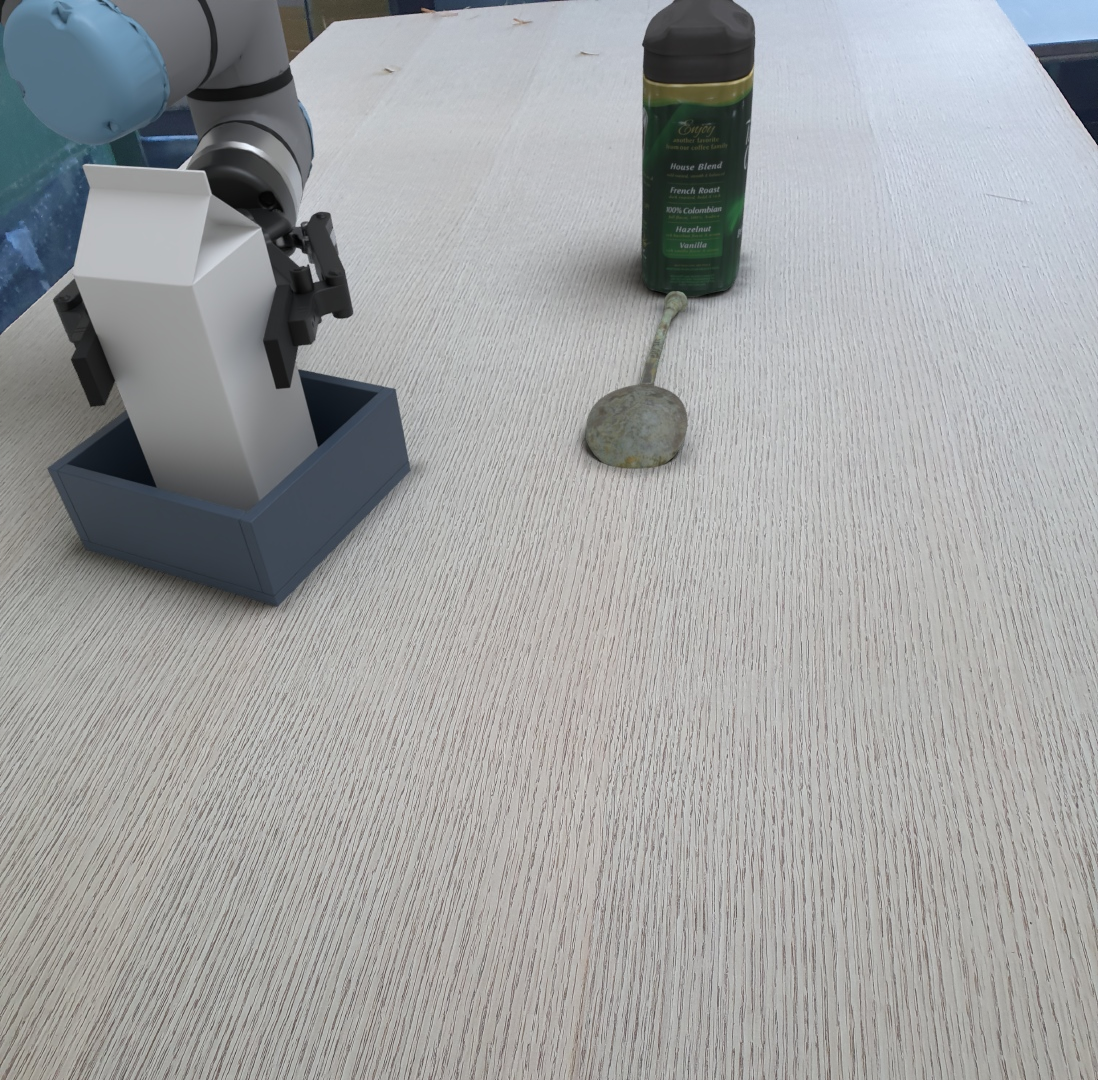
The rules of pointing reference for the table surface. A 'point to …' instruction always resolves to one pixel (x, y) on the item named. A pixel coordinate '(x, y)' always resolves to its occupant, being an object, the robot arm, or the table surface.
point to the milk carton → (189, 333)
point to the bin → (230, 534)
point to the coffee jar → (695, 144)
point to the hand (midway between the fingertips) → (182, 373)
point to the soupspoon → (641, 412)
